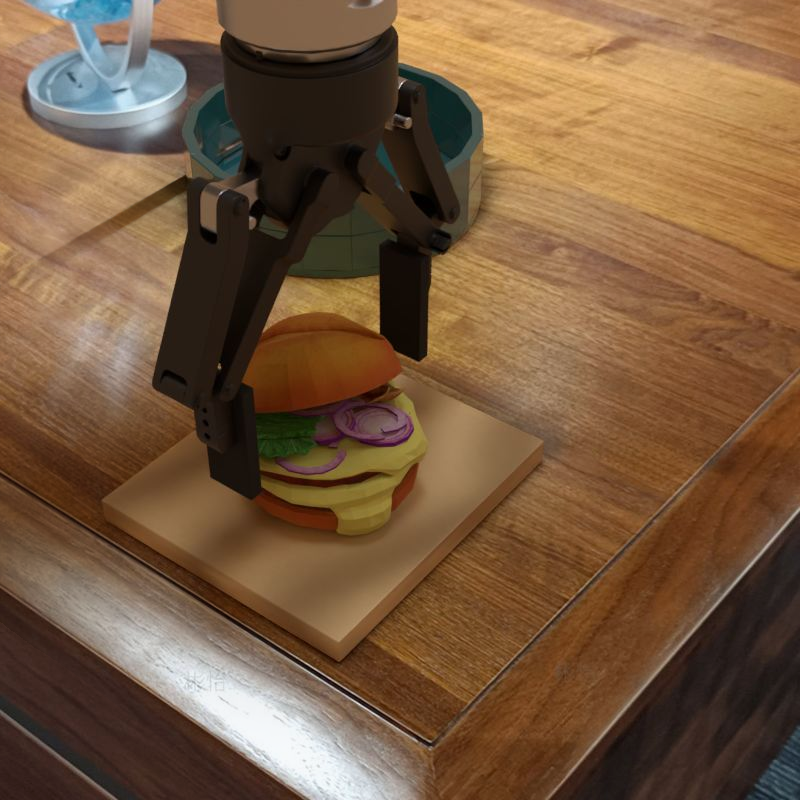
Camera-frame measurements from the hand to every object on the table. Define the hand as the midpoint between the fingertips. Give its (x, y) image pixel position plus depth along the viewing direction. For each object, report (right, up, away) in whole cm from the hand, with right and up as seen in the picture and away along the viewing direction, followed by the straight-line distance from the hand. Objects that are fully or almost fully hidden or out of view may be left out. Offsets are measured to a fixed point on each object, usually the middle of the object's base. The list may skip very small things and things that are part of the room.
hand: (324, 414), depth 70 cm
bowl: (-1, +15, +27) cm, 31 cm away
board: (0, -4, +3) cm, 5 cm away
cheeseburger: (0, -3, +2) cm, 4 cm away
